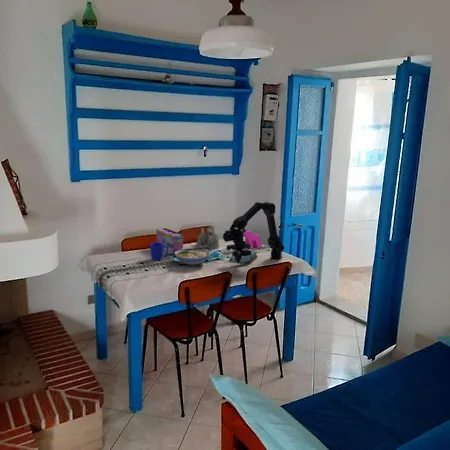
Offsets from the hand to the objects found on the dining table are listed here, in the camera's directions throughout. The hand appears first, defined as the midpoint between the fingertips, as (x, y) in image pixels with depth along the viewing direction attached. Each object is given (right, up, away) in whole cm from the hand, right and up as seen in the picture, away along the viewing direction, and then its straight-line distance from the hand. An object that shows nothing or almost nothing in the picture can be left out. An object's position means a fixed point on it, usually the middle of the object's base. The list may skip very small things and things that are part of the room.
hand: (238, 263), depth 283 cm
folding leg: (+2, +1, +5) cm, 6 cm away
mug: (-52, +1, +15) cm, 54 cm away
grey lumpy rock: (-21, +9, +46) cm, 52 cm away
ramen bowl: (-29, -1, +6) cm, 30 cm away
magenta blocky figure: (+12, +8, +46) cm, 48 cm away
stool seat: (+4, +1, +15) cm, 16 cm away
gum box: (-47, +6, +34) cm, 59 cm away
